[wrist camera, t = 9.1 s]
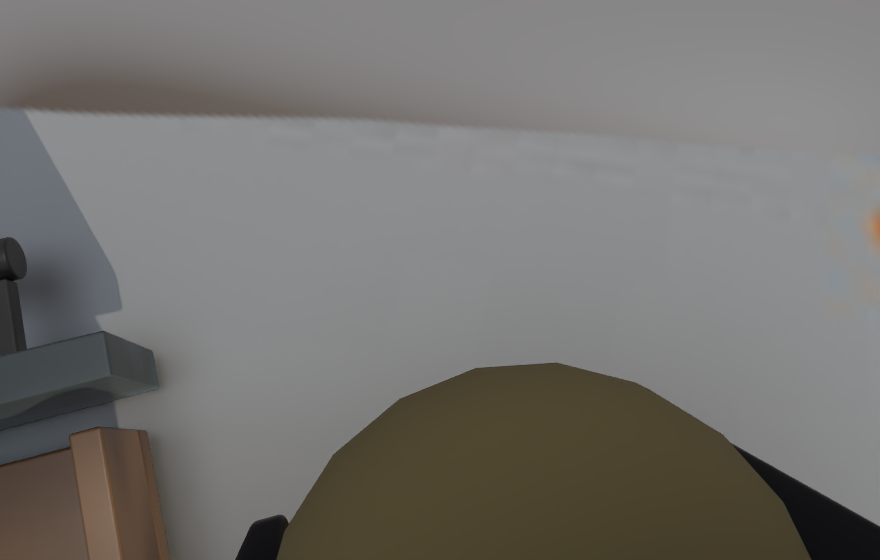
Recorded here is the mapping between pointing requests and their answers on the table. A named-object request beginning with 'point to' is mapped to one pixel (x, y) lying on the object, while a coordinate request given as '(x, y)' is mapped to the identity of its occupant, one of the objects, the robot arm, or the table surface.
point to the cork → (539, 479)
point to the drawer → (74, 444)
